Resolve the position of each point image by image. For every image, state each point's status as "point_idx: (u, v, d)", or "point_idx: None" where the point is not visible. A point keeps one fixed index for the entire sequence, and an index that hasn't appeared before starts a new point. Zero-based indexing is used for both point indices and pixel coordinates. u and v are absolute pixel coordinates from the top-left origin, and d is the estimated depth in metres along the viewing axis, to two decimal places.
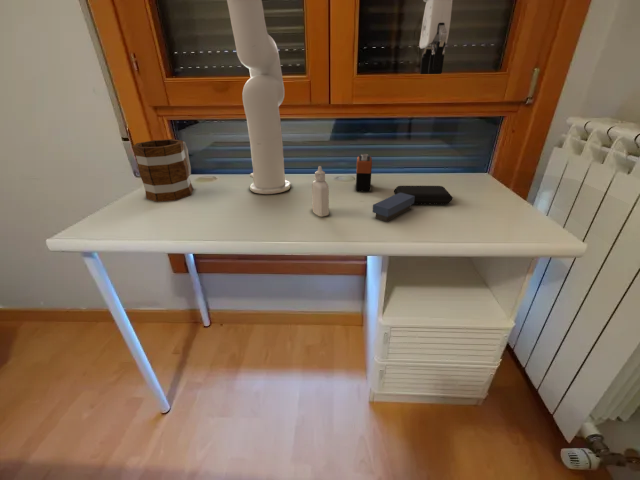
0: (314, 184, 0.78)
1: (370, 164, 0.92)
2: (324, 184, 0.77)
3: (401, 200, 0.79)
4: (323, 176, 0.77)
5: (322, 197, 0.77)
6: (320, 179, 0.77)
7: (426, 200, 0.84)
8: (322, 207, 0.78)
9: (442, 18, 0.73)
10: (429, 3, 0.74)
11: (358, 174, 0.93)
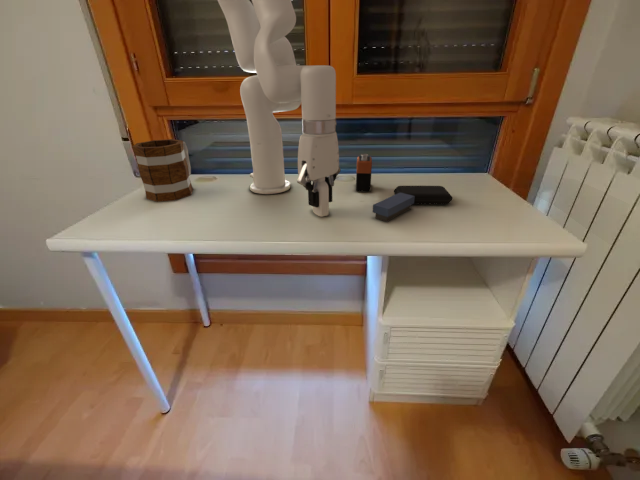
0: None
1: (370, 164, 0.92)
2: (324, 184, 0.77)
3: (401, 200, 0.79)
4: None
5: (322, 197, 0.77)
6: (320, 179, 0.77)
7: (426, 200, 0.84)
8: (322, 207, 0.78)
9: (304, 156, 0.72)
10: None
11: (358, 174, 0.93)
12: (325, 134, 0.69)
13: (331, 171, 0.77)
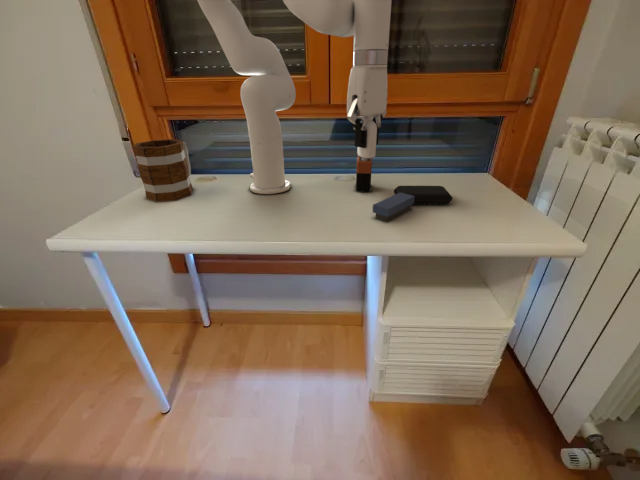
0: None
1: (370, 164, 0.92)
2: (373, 123, 0.75)
3: (401, 200, 0.79)
4: None
5: (370, 136, 0.75)
6: (368, 117, 0.75)
7: (426, 200, 0.84)
8: (370, 148, 0.76)
9: (355, 90, 0.70)
10: None
11: (358, 174, 0.93)
12: (378, 65, 0.68)
13: (380, 109, 0.75)
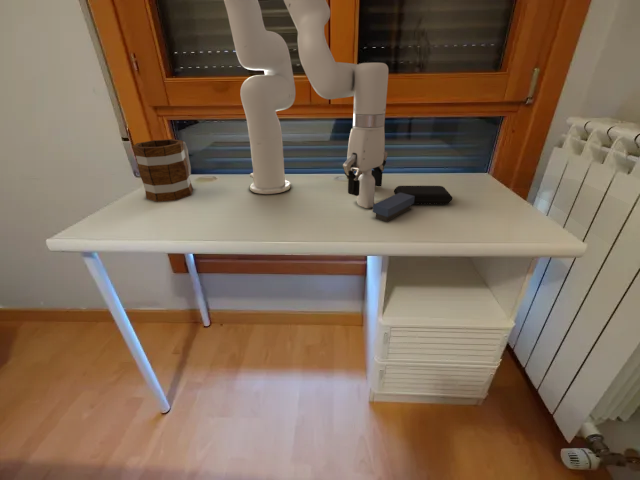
0: (361, 177, 0.82)
1: None
2: (371, 177, 0.81)
3: (401, 200, 0.79)
4: (370, 170, 0.81)
5: (369, 189, 0.81)
6: (367, 172, 0.81)
7: (426, 200, 0.84)
8: (369, 199, 0.82)
9: (355, 149, 0.76)
10: None
11: None
12: (376, 127, 0.74)
13: (377, 163, 0.81)
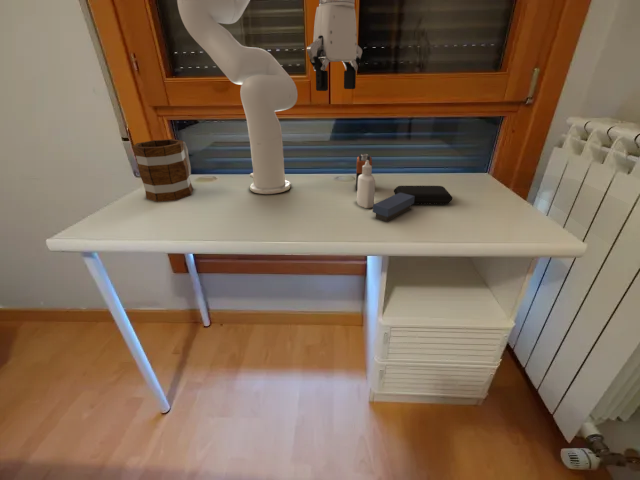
0: (361, 177, 0.82)
1: (370, 164, 0.92)
2: (371, 177, 0.81)
3: (401, 200, 0.79)
4: (370, 170, 0.81)
5: (369, 189, 0.81)
6: (367, 172, 0.81)
7: (426, 200, 0.84)
8: (369, 199, 0.82)
9: (321, 30, 0.67)
10: None
11: (358, 174, 0.93)
12: (344, 2, 0.64)
13: (348, 55, 0.72)
